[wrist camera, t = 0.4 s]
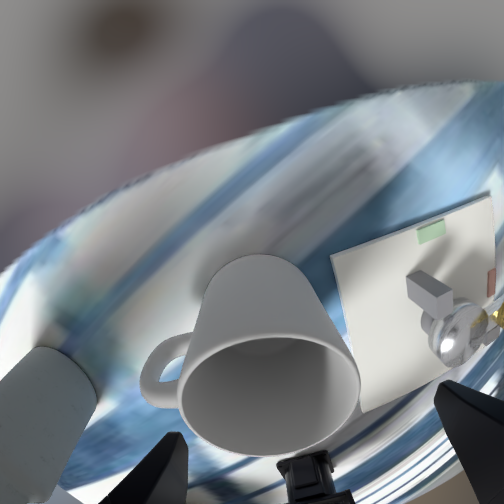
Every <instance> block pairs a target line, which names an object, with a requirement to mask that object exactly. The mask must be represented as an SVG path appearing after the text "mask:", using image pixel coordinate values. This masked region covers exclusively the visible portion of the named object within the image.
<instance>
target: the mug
mask: <svg viewBox="0 0 504 504" xmlns="http://www.w3.org/2000/svg"><path fill="white" fill-rule="evenodd" d="M183 355H186V356H185V360H184V363H183V367H182V370H181V374H180V377H179V379H177V380H173V381H168V382H159V379H160V376H161V374H162V372H163V370H164V368H165V367H166V366H167V365H168V364H169V363H170V362H171V361H172V360H174V359H175V358H177V357H180V356H183ZM140 390H141V394H142V396H143V397H144V399H145V400H146V401H147V402H148V403H149V404H151V405H153V406H155V407H159V408H179V411H180V414H181V416H182V418H183V420H184V421H185V423H186V424H187V426H188V427H189V428H190V429H191V430H192V431H193V432H194V433H195V434H196V435H197V436H198V437H200V438H201V439H202V440H204V441H205V442H207V443H209V444H210V445H212V446H214V447H216V448H218V449H221V450H224V451H227V452H230V453H234V454H238V455H244V456H253V457H271V456H280V455H286V454H291V453H295V452H298V451H301V450H304V449H307V448H309V447H312V446H314V445H316V444H318V443H320V442H321V441H323V440H325V439H326V438H328V437H329V436H331V435H332V434H334V433H335V432H336V431H337V430H338V429H339V428H340V427H341V426H342V425H343V424H344V423H345V422H346V421H347V420H348V418H349V417H350V416H351V414H352V412H353V411H354V409H355V407H356V405H357V402H358V400H359V396H360V391H361V379H360V373H359V370H358V367H357V364H356V362H355V360H354V358H353V356H352V354H351V353H350V351H349V349H348V347H347V346H346V344H345V342H344V341H343V339H342V337H341V335H340V334H339V332H338V330H337V329H336V327H335V325H334V324H333V322H332V320H331V319H330V317H329V315H328V314H327V312H326V310H325V309H324V307H323V305H322V304H321V302H320V300H319V298H318V297H317V295H316V293H315V291H314V289H313V287H312V286H311V284H310V282H309V281H308V279H307V278H306V276H305V275H304V274H303V273H302V272H301V271H300V270H299V269H298V268H297V267H296V266H295V265H293V264H292V263H290V262H288V261H286V260H284V259H282V258H279V257H276V256H271V255H263V254H257V255H249V256H244V257H241V258H238V259H236V260H234V261H232V262H230V263H228V264H227V265H225V266H224V267H222V268H221V269H220V270H219V271H218V272H217V273H216V274H215V275H214V276H213V278H212V279H211V281H210V282H209V284H208V287H207V289H206V291H205V294H204V297H203V301H202V304H201V308H200V311H199V315H198V318H197V321H196V325H195V328H194V331H193V332H190V333H185V334H181V335H177V336H174V337H171V338H169V339H167V340H165V341H163V342H162V343H160V344H159V345H158V346H157V347H156V348H155V349H154V350H153V352H152V353H151V354H150V356H149V357H148V359H147V361H146V363H145V365H144V367H143V369H142V372H141V376H140Z"/></svg>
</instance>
